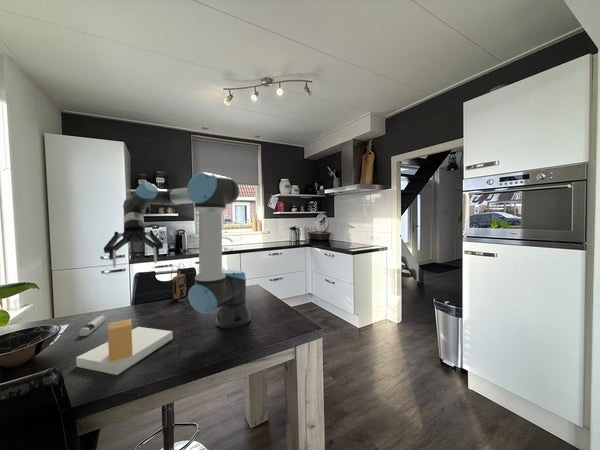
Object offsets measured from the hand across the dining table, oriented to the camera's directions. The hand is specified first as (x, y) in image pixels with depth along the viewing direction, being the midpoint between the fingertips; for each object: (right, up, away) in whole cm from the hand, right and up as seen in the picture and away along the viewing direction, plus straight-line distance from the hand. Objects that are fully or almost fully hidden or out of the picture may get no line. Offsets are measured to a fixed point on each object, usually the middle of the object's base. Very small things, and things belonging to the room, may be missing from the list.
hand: (135, 263), depth 96 cm
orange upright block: (+7, -27, -17) cm, 33 cm away
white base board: (+4, -30, -10) cm, 32 cm away
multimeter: (-3, -28, +47) cm, 55 cm away
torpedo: (-24, -30, +9) cm, 40 cm away
